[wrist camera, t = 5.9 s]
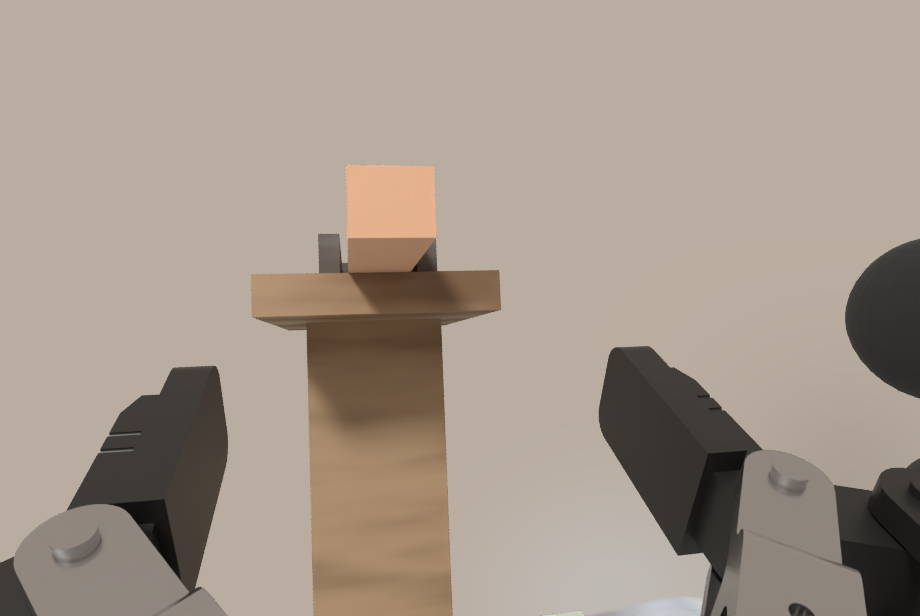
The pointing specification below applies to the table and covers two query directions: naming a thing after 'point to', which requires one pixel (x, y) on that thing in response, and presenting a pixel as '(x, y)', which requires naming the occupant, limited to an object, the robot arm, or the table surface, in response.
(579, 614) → the pedestal
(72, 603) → the robot arm
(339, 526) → the stand
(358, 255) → the block
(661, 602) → the table surface
